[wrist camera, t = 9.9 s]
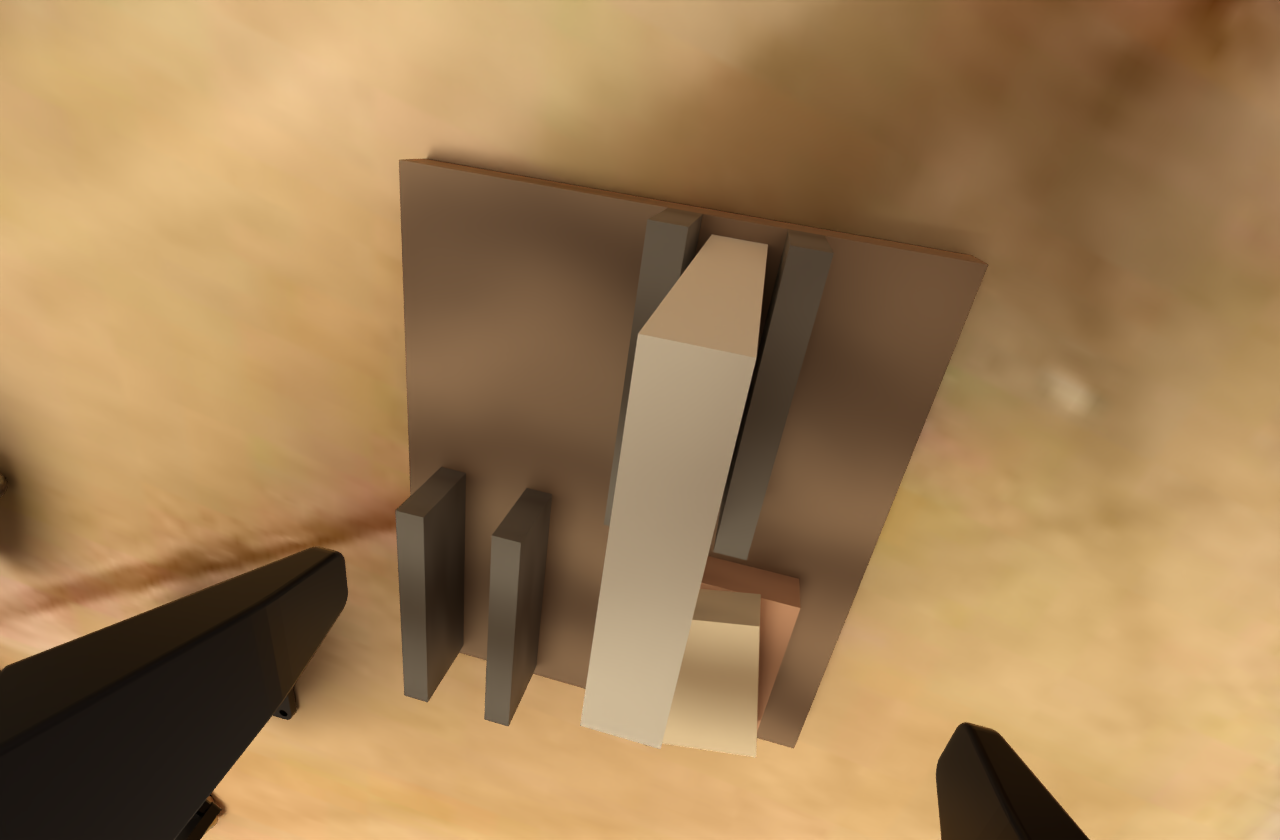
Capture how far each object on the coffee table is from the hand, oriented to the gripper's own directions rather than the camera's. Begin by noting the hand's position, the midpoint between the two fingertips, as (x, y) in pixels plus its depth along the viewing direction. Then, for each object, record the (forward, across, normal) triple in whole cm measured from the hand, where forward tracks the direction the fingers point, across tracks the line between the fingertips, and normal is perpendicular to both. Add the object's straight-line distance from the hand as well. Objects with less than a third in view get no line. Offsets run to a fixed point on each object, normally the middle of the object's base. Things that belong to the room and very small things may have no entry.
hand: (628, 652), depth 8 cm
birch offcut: (+10, -2, +10) cm, 14 cm away
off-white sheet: (+11, 0, 0) cm, 11 cm away
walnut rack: (+13, +2, +5) cm, 14 cm away
